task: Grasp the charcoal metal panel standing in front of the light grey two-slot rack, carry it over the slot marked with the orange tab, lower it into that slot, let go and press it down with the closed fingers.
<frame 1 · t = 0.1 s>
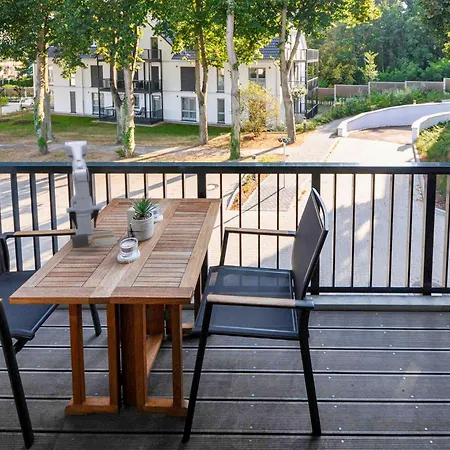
hand: (85, 227, 275), 10 cm above the table, tool pointing down, fingers open, 7 cm apart
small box: (136, 230, 305), on the table
rack: (102, 241, 289), on the table
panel: (80, 246, 283), on the table
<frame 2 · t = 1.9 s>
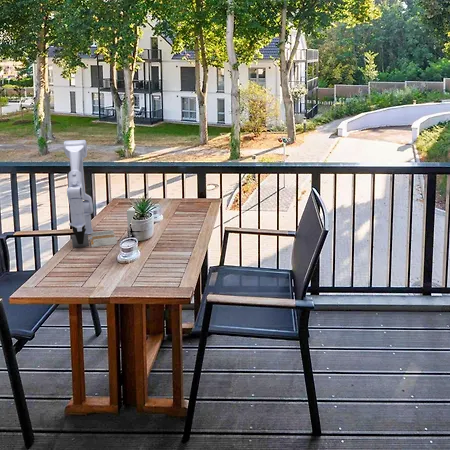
hand: (80, 242, 283), 1 cm above the table, tool pointing down, fingers closed on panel, 3 cm apart
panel: (80, 245, 283), on the table, touching gripper
everything else where it was.
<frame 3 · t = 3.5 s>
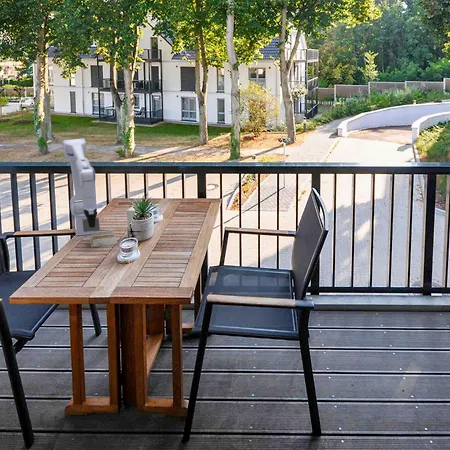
hand: (91, 226, 282), 8 cm above the table, tool pointing down, fingers closed on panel, 3 cm apart
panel: (91, 230, 283), point 7 cm above the table, touching gripper
everything else where it was.
when the fingers open (4 cm above the table, at t = 5.3 s): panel stays where it is, resting on rack.
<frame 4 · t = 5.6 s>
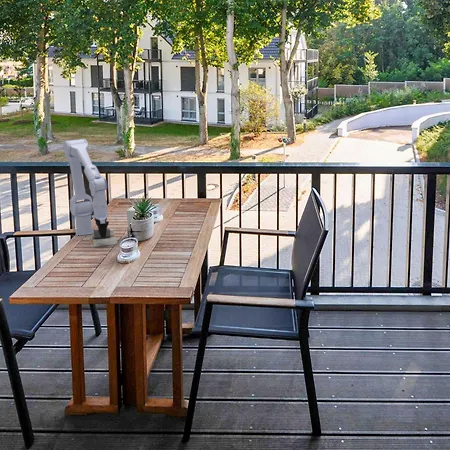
hand: (102, 235, 285), 4 cm above the table, tool pointing down, fingers open, 5 cm apart
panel: (102, 240, 286), point 1 cm above the table, touching rack
everything else where it was.
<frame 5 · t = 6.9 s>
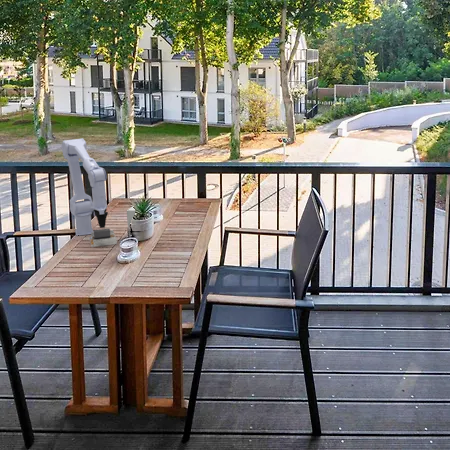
hand: (102, 226, 284), 8 cm above the table, tool pointing down, fingers open, 4 cm apart
nothing on the table moved.
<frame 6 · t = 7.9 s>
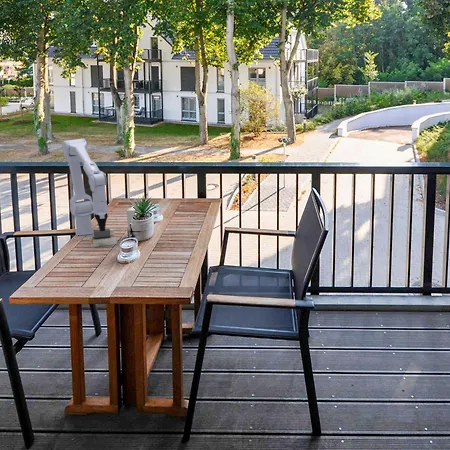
hand: (102, 230, 284), 6 cm above the table, tool pointing down, fingers closed, pressing on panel
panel: (102, 241, 286), point 1 cm above the table, touching gripper, rack
everything else where it was.
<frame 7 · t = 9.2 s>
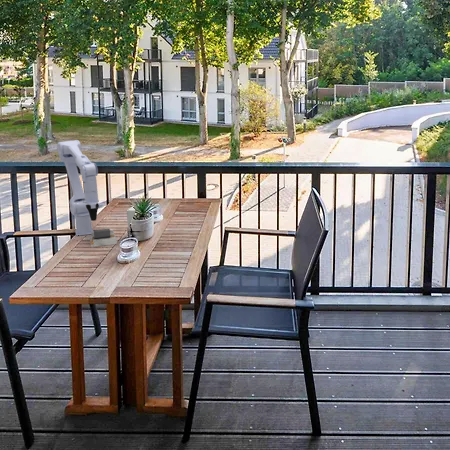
hand: (93, 220, 288), 9 cm above the table, tool pointing down, fingers closed
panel: (102, 240, 286), point 1 cm above the table, touching rack
everything else where it was.
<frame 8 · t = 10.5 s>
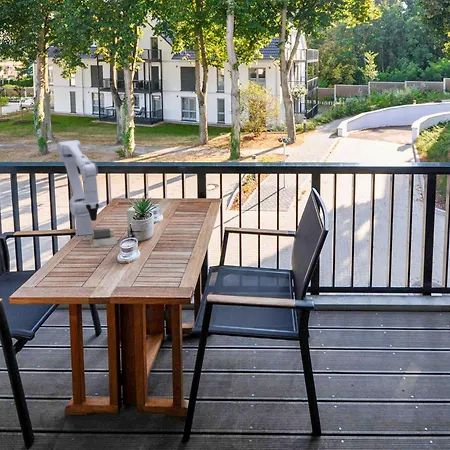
hand: (93, 220, 288), 9 cm above the table, tool pointing down, fingers closed
nothing on the table moved.
at the end: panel 0.6 cm from the target spot on the rack, point 1.1 cm above the rack's base; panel tilted 0°; the gripper is holding nothing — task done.
